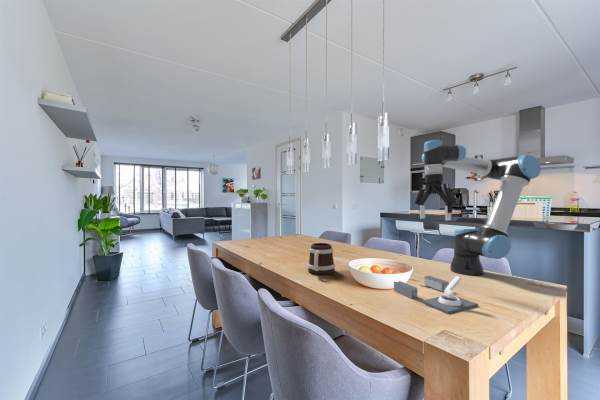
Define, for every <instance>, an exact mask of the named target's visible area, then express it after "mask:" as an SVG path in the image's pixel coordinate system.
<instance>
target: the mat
mask: <svg viewBox="0 0 600 400" xmlns="http://www.w3.org/2000/svg"><path fill="white" fill-rule="evenodd" d="M454 296H455V297H457V298H459V299H460V301H461V305H460V306H449V305H444V304H442V303H440V302H439V301H438V299H439V297H440V296H437V297H432V298H427V299H423V300H421V304H424V305H426V306H429V307H431V308H434V309H435V310H437V311H441V312H442V313H445V314H447V315H449V314H453V313H456V312H457V313H458V312H462V311H464V310H468V309H472V308H475V307H479V303H477V302H473V301H471V300H468V299H465V298H462V297H461V296H460V297H459V296H456V295H455V294H454ZM445 300H450V301H456V300H452V299H445Z"/></svg>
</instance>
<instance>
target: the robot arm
mask: <svg viewBox="0 0 600 400" xmlns="http://www.w3.org/2000/svg"><path fill="white" fill-rule="evenodd" d="M421 162H422V164H424V174H425V176H424V183H425V184H420V185H419V190H418V193H417V196H416V198H415V200H414V204H416V205H418V212H419V219H420V220H422V219H426V205H425V203H426V201H427V200H428V198H429V196H430V195H435V194H436V195H438V196H439V198H441V200H442V201H443V202H444V203H445V206H444V213H445V221H451V220H452V213H453V206H454V205H457V203H458V202H457V199H456V198H455V196H454V194H453V192H452V190H451V187H450V183H443V182H444V178H443V177H444V175H443V171H444V170H443V169H444V168H448V169H453V170H458V171H462V172H468V173H471V174H472V173H474V174H477V176H479V177H483V178H488V179H492V180H496V181H497V180H498V181H501V182H502V183H501V186H500V188H499V190H498V193H497V196H496V199H495V201H494V203H493V205H492V208H491V210H490V213H489V216H488V218H487V220H486V223H485V224H484V225H482V226H481V227H480V228H458V229H454V231H453V236H452V237H453V257H452V261H451V262H450V268H449V270H450V271H451V272H453V273H456V274H461V275H465V276H466V275H467V276H481V275H484V267H483V265H482V261H481V259H480V256H481V257H484V258H487V259H494V260H500V259H503V258H505V257H507V255H508V254H509V253H510V251H511V250H512V244H511V243H512V241H511V239H510V238H509V235H510V234H509V233H508V231H507V230H508V227H509V225H510V222H511V220H512V218H513V214H514V212H515V209H516V207H517V204H518V202H519V200H520V197H521V194H522V192H523V189H524V187H526V186H529V185H530V182H531V180H532V179H536V178H537V177H539V175H540V174H541V170H542V169H541V164H540V161H539V160H538V158H537V157H536V156H535V155H532V154H520V155H516V156H515V155H514V156H510V157H503V158H498V159H497V158H496V159H490V158H489V159H488V158H483V159H480V158H475V157H470V156H467V148H466V147H465V146H464V145H459V144H453V145H452V144H448V145H447V144H443V141H442V140H441V139H432V140H428V141H425V142H424V144H423V154H422V155H421Z"/></svg>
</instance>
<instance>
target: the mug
mask: <svg viewBox="0 0 600 400" xmlns="http://www.w3.org/2000/svg"><path fill="white" fill-rule="evenodd" d="M333 252H334V248H333V247H332V244H330V243H327V242H326V243H325V242H317V243H316V242H315V243H312V244H311V245H310V248H309V259H308V264H307V269H308V270H307V271H308V272H309V273H310V272H311V273H310V274H312V273H314V275H317V274H321V275H320V276H325V275H324V274H327V275H330V274H333V273H334V272H335V270H336V269H335V267H336V264H335V262H334V255H333Z"/></svg>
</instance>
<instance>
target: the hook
mask: <svg viewBox="0 0 600 400" xmlns="http://www.w3.org/2000/svg"><path fill="white" fill-rule="evenodd" d="M460 282H462V278H461V277H460V276H458V275H455V276H454V278H453V279H452V280H451V281H450V282H449V285H448V286H447V287H446V289H445V290H444V292H443V294H441V295H439V296H438V297H439V299H438V301H439V302H440V303H442V304H444V305H449V306H460V305H461V301H460V299H459V298H457V297H458V296H457V297H455V296H456V295H455V292H454V289H455V288H456V287H457V286H458V285H459V283H460ZM454 295H455V296H454ZM445 299H452V300H456V301H450V300H445Z"/></svg>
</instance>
